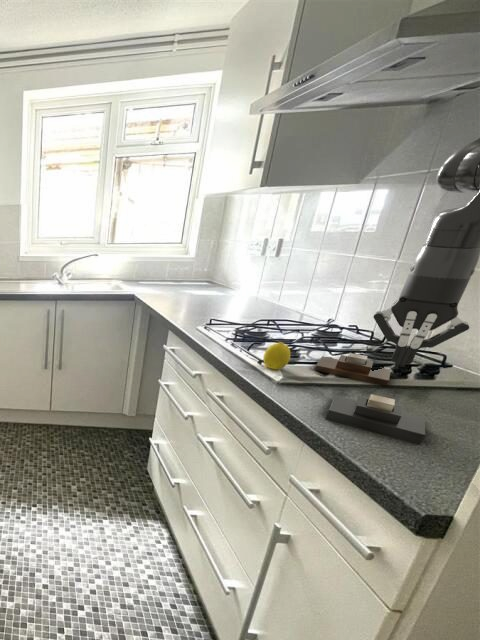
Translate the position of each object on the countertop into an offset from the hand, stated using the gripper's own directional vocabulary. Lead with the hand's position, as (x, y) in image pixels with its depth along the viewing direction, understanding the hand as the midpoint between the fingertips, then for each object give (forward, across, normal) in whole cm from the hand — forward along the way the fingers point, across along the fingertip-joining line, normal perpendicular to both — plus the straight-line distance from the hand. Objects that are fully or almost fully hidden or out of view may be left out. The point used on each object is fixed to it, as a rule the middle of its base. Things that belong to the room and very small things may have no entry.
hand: (399, 364), depth 80 cm
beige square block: (+9, +6, -29) cm, 31 cm away
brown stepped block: (+13, +6, -29) cm, 33 cm away
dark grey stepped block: (+13, 0, +1) cm, 13 cm away
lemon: (+13, +21, -18) cm, 31 cm away
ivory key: (+9, 0, +1) cm, 9 cm away
